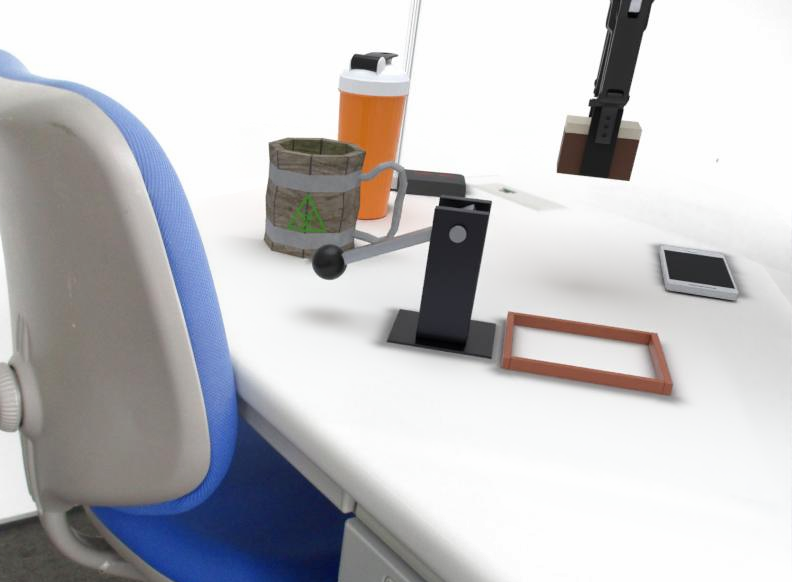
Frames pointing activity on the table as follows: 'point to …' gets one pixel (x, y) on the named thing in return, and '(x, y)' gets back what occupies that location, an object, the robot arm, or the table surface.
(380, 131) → the shaker bottle
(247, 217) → the table surface
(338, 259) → the lever
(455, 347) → the lever stand
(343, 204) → the mug
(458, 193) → the usb drive
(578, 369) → the reddish-brown rectangular frame
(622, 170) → the cake slice
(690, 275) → the smartphone
